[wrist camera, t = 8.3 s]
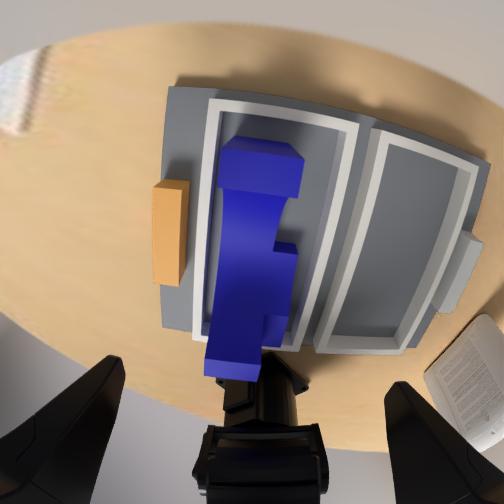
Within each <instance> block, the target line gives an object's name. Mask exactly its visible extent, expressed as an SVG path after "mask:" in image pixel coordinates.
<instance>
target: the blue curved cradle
mask: <svg viewBox="0 0 504 504" xmlns="http://www.w3.org/2000/svg"><path fill="white" fill-rule="evenodd" d="M304 163H305V159H304V158H303V157H302V156H301V155H300V154H299V153H298V152H297V151H296V150H295V149H294V148H293V147H292V146H291V145H290V144H289V143H284V142H278V141H272V140H265V139H258V138H250V137H242V136H233V137H232V138H231V139H230V140H229V141H228V142H227V143H226V144H225V145H224V146H223V147H222V148H221V156H220V165H219V174H218V183H217V188H222V190H223V214H222V229H221V240H220V250H219V260H218V269H217V277H216V285H215V293H214V301H213V308H212V315H211V322H210V329H209V336H208V342H207V348H206V353H205V360H204V376H210V377H217V378H225V379H234V380H243V381H253V382H257V380H258V376H259V372H260V368H261V348H262V346H266V347H277V348H281V344H282V340H283V337H284V333H285V330H286V326H287V323H288V319H289V312H290V302H291V294H292V287H293V280H294V274H295V269H296V264H297V259H298V252H297V248H296V244H293V243H286V242H278V241H275V238H276V233H277V229H278V225H279V221H280V218H281V214H282V211H283V208H284V206H285V204H286V201H287V200H288V198H296V199H298V195H299V190H300V185H301V179H302V174H303V168H304Z"/></svg>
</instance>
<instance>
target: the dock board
mask: <svg viewBox="0 0 504 504" xmlns="http://www.w3.org/2000/svg"><path fill="white" fill-rule="evenodd" d="M233 136H242V137H250V138H258V139H265V140H272V141H278V142H284V143H289V144H290V145H291V146H292V147H293V148H294V149H295V150H296V151H297V152H298V153H299V154H300V155H301V156H302V157H303V158H304V159H305V163H304V168H303V174H302V179H301V185H300V190H299V195H298V199H296V198H288V200H287V201H286V204H285V206H284V208H283V211H282V214H281V218H280V221H279V225H278V229H277V233H276V238H275V241H278V242H286V243H293V244H296V248H297V252H298V259H297V264H296V269H295V274H294V280H293V287H292V294H291V302H290V312H289V319H288V323H287V326H286V330H285V333H284V337H283V340H282V344H281V348H277V347H266V346H262V348H261V349H267V350H278V351H291V352H299V350H300V347H301V345H314V348H315V353H323V354H350V355H402V353H403V352H404V350H405V348H416V347H417V345H418V343H419V342H420V340H421V338H422V337H423V335H424V333H425V331H426V330H427V328H428V326H429V324H430V322H431V320H432V319H433V317H434V315H435V313H436V311H437V312H438V313H452V312H453V311H454V309H455V307H456V305H457V303H458V301H459V299H460V297H461V295H462V293H463V291H464V289H465V287H466V285H467V282H468V280H469V278H470V276H471V274H472V271H473V269H474V267H475V265H476V262H477V260H478V257H479V255H480V253H481V250H482V247H483V245H484V243H483V242H482V241H480V240H479V239H478V238H477V237H475V236H474V235H473V234H471V231H472V228H473V225H474V222H475V219H476V216H477V213H478V210H479V206H480V203H481V200H482V196H483V193H484V189H485V186H486V182H487V178H488V174H489V170H490V166H491V164H490V163H488V162H486V161H484V160H482V159H480V158H478V157H476V156H474V155H471V154H469V153H467V152H465V151H463V150H461V149H458V148H456V147H454V146H451V145H449V144H447V143H444V142H442V141H439V140H437V139H434V138H432V137H429V136H427V135H424V134H421V133H419V132H416V131H413V130H410V129H408V128H405V127H402V126H399V125H396V124H393V123H390V122H386V121H383V120H380V119H377V118H373V117H370V116H366V115H363V114H359V113H355V112H352V111H348V110H344V109H340V108H336V107H331V106H327V105H323V104H318V103H313V102H308V101H303V100H298V99H293V98H287V97H281V96H275V95H268V94H261V93H254V92H246V91H237V90H226V89H215V88H200V87H174V86H169V88H168V96H167V105H166V115H165V125H164V136H163V149H162V165H161V181H160V182H159V183H158V184H157V185H155V186H154V187H153V204H152V246H153V279H154V283H156V284H160V293H161V313H162V327H163V328H169V329H175V330H181V331H187V332H192V340H194V341H201V342H208V336H209V329H210V322H211V315H212V308H213V301H214V293H215V285H216V277H217V269H218V260H219V250H220V240H221V229H222V214H223V190H222V188H217V183H218V174H219V165H220V156H221V148H222V147H223V146H224V145H225V144H226V143H227V142H228V141H229V140H230V139H231V138H232V137H233Z"/></svg>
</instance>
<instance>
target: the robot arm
mask: <svg viewBox="0 0 504 504" xmlns="http://www.w3.org/2000/svg"><path fill="white" fill-rule="evenodd" d="M124 382H125V370H124V366H123V362H122V359H121V358H120V357H118V356H114V355H108V356H106V357H105V358H104V359H102V360H101V361H100V362H99V363H97V364H96V365H95V366H94V367H92V368H91V369H90V370H89V371H87V372H86V373H85V374H84V375H83V376H81V377H80V378H79V379H77V380H76V381H75V382H74V383H72V384H71V385H70V386H69V387H67V388H66V389H65V390H63V391H62V392H61V393H60V394H58V395H57V396H56V397H55V398H54V399H52V400H51V401H50V402H49V403H47V404H46V405H45V406H44V407H42V408H41V409H40V410H39V411H37V412H36V413H35V414H34V415H32V416H31V417H30V418H28V419H27V420H26V421H25V422H23V423H22V424H21V425H20V426H18V427H17V428H15V429H14V430H13V431H11V432H9V433H8V434H6V435H5V436H3V437H2V438H0V504H90V500H91V497H92V493H93V490H94V486H95V483H96V479H97V476H98V473H99V469H100V466H101V463H102V459H103V457H104V453H105V450H106V447H107V444H108V441H109V438H110V435H111V432H112V429H113V427H114V424H115V420H116V417H117V413H118V408H119V404H120V399H121V394H122V390H123V386H124ZM216 383H217V384H218V385H219V386H221V387H222V388H223V389H225V393H224V403H223V410H224V411H225V417H224V427H221V426H215V425H208V428H207V432H206V433H205V434H204V435H203V441H202V445H201V450H200V453H199V457H198V459H197V461H196V463H195V466H194V468H193V470H192V476H193V477H194V478H195V479H196V480H197V484H198V488H199V493H200V495H202V496H206V498H207V504H320V495H321V494H325V493H326V492H327V490H328V485H329V467H328V460H327V455H326V451H325V448H324V444H323V440H322V436H321V432H320V428H319V424H318V423H315V424H311V425H302V426H298V420H297V409H296V399H295V396H296V395H298V394H300V393H303V392H305V391H307V390H308V389H309V386H308V383H306V382H305V381H304V380H303V379H302V378H301V377H300V376H299V375H298V374H297V373H295V372H294V371H293V370H292V369H291V368H290V367H289V366H288V365H287V364H286V363H285V362H283V361H282V360H281V359H280V358H279V357H278V356H277V355H276V354H275V353H272V352H269V353H266V354H264V355H262V356H261V368H260V372H259V376H258V380H257V382H253V381H243V380H234V379H225V378H217V377H216ZM384 406H385V418H386V432H387V441H388V447H389V453H390V459H391V466H392V473H393V481H394V488H395V497H396V504H504V473H503V472H502V471H501V470H499V469H498V468H497V467H496V466H494V465H493V464H492V463H491V462H489V461H488V460H487V459H486V458H485V457H484V456H482V455H481V454H480V453H479V452H478V451H477V450H476V449H475V448H474V447H473V446H472V445H471V444H470V443H469V442H467V440H466V439H465V438H464V437H463V436H462V435H461V434H460V433H459V432H458V431H457V430H456V429H455V428H454V427H453V426H452V425H451V424H450V423H449V422H447V421H446V420H445V419H444V418H443V417H442V416H441V415H440V414H439V413H438V412H437V411H436V410H435V409H434V408H433V407H432V406H431V405H430V404H429V403H428V402H427V401H426V400H425V399H424V398H423V397H422V396H421V395H420V394H419V393H418V392H417V391H416V390H415V389H414V388H413V387H412V386H411V385H410V384H409V383H407V382H406V381H398V382H395V383H394V384H393V385H392V387H391V388H390V390H389V391H388V392H387V394H386V395H385V398H384Z"/></svg>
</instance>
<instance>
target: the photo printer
mask: <svg viewBox="0 0 504 504" xmlns="http://www.w3.org/2000/svg"><path fill="white" fill-rule="evenodd" d="M423 378H424V381H425V383H426V386H427V388H428V390H429V392H430V395H431V397H432V399H433V402H434V404H435V407H436V409H437V411H438V413H439V414H440V415H441V416H442V417H443V418H444V419H445V420H446V421H447V422H449V423H450V424H451V425H452V426H453V427H454V428H455V429H456V430H457V431H458V432H459V433H460V434H461V435H462V436H463V437H464V438H465V439H466V440H467V442H469V443H470V444H471V445H472V446H473V447H474V448H475V449H476V450H477V451H478V452H482V451H484V450H486V449H487V448H489V447H491V446H493V445H494V444H496V443H497V442H499V441H500V440H502V439H503V438H504V334H503V333H502V331H501V330H500V329H499V327H498V326H497V325H496V323H495V322H494V321H493V320H492V318H491V317H490V316H489V315H488V314H480V315H479V316H477V317H476V318H475V319H474V320H473V321H472V322H471V324H470V325H469V326H468V327H467V328H466V329H465V330H464V332H463V333H462V334H461V335H460V336H459V337H458V338H457V339H456V340H455V342H454V343H453V344H452V345H451V346H450V347H449V348H448V349H447V350H446V351H445V352H444V353H443V354H442V355H441V356H440V358H439V359H437V360H436V361H435V362H434V364H433V365H432V366H431V367H430V368H429V369H428V370H427V371H426V372H425V373H424V375H423Z"/></svg>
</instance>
